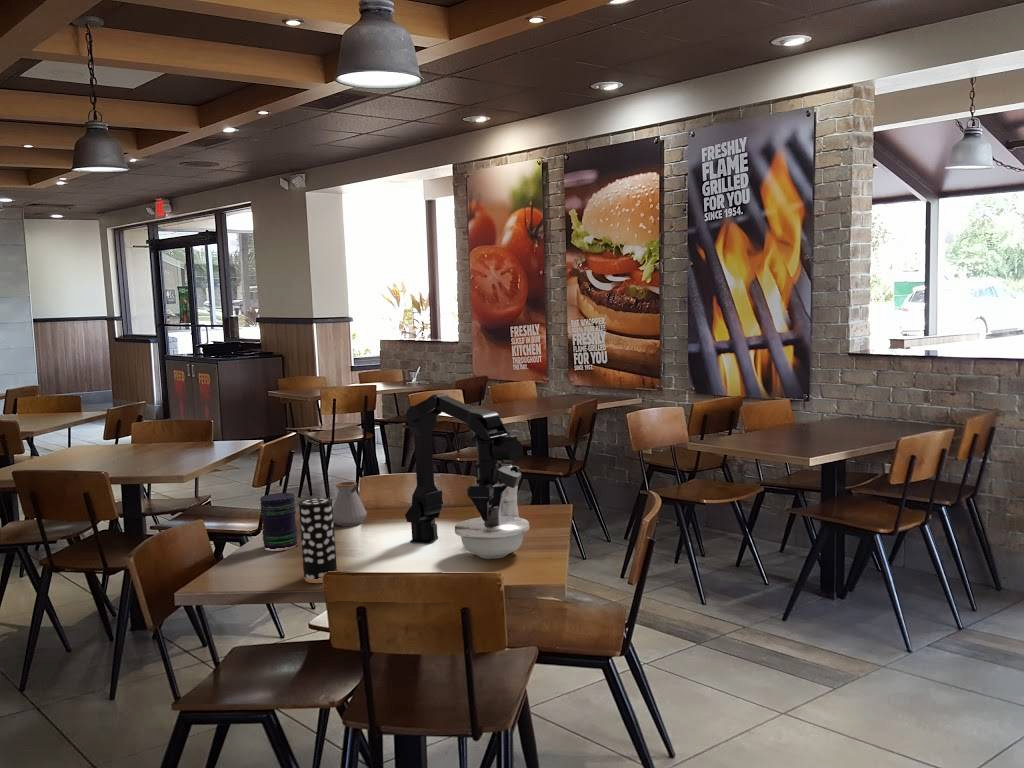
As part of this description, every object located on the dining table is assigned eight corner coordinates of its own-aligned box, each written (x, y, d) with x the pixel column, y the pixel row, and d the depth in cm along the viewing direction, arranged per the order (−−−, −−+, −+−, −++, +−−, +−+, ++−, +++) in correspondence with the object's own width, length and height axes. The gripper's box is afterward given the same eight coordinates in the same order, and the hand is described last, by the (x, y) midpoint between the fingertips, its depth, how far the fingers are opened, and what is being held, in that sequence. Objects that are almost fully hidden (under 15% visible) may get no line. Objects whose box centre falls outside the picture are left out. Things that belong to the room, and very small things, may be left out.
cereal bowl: (504, 566, 235) (503, 539, 234) (450, 560, 243) (448, 534, 242) (535, 549, 249) (534, 524, 249) (483, 544, 258) (481, 519, 257)
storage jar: (269, 553, 259) (265, 501, 257) (259, 546, 267) (255, 496, 266) (303, 547, 264) (299, 496, 263) (292, 540, 272) (288, 491, 271)
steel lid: (443, 538, 239) (442, 514, 238) (469, 519, 258) (468, 497, 257) (516, 540, 233) (515, 516, 232) (537, 521, 252) (536, 498, 251)
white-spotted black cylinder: (305, 585, 227) (299, 506, 225) (303, 576, 235) (297, 499, 233) (339, 581, 229) (333, 502, 228) (335, 572, 237) (330, 496, 236)
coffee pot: (327, 522, 294) (324, 476, 292) (362, 517, 298) (359, 472, 297) (342, 536, 274) (338, 487, 273) (379, 531, 279) (376, 482, 277)
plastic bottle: (518, 535, 265) (515, 467, 263) (495, 535, 266) (492, 467, 265) (522, 529, 271) (519, 463, 269) (500, 529, 273) (497, 463, 271)
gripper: (505, 465, 232) (508, 526, 234) (527, 453, 250) (529, 509, 251) (464, 465, 236) (468, 524, 237) (488, 452, 254) (491, 508, 255)
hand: (491, 516), depth 245 cm, fingers open, 9 cm apart
